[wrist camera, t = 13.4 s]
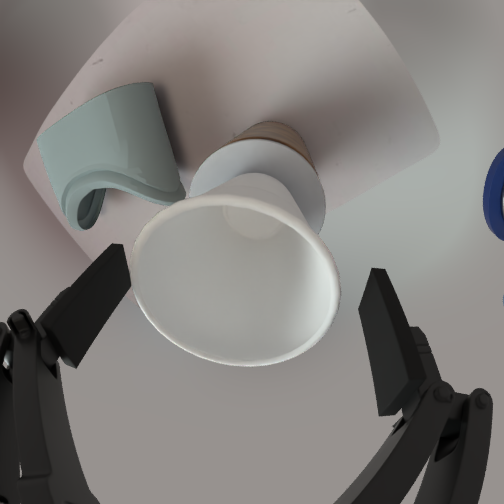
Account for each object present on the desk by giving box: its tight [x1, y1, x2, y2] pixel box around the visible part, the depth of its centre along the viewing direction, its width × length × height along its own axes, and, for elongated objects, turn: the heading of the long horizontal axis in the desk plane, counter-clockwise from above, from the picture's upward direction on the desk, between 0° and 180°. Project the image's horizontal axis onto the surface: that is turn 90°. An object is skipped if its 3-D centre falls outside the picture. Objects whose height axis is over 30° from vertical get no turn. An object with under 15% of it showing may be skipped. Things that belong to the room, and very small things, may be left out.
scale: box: [189, 139, 326, 235], centre depth 23 cm, size 11×11×2 cm
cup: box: [130, 173, 341, 367], centre depth 17 cm, size 10×10×11 cm
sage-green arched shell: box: [37, 82, 186, 231], centre depth 37 cm, size 22×19×13 cm
